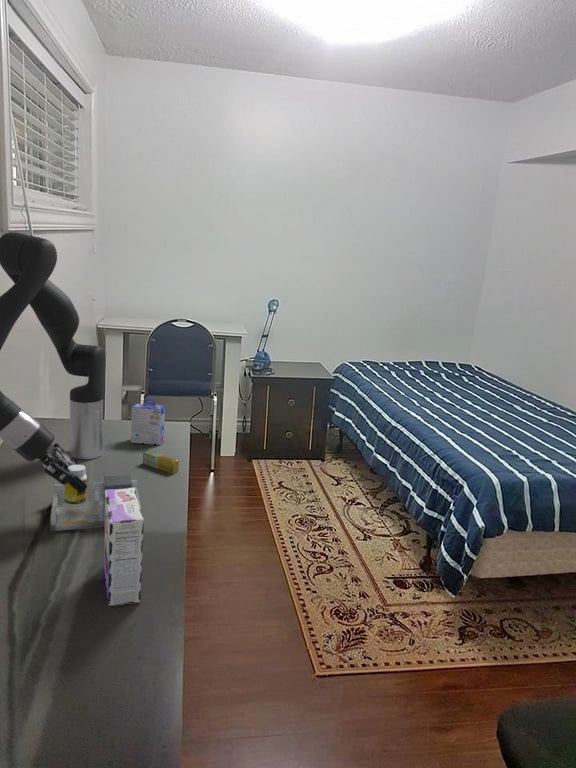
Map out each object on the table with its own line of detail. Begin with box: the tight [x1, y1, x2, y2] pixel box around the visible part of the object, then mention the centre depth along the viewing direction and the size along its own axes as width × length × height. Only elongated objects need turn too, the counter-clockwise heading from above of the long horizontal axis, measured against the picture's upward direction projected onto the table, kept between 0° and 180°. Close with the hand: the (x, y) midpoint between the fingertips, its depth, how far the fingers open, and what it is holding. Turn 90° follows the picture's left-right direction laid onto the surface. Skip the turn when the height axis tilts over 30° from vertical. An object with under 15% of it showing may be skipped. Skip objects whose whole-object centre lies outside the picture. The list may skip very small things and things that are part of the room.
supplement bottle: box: [64, 464, 88, 506], centre depth 123 cm, size 5×5×8 cm
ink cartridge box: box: [130, 397, 166, 446], centre depth 178 cm, size 10×6×14 cm, turn 89°
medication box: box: [142, 449, 180, 475], centre depth 158 cm, size 12×3×4 cm, turn 59°
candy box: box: [103, 487, 145, 607], centre depth 100 cm, size 14×6×16 cm, turn 21°
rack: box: [50, 474, 142, 532], centre depth 127 cm, size 14×19×8 cm
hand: (84, 484), depth 124 cm, fingers closed on supplement bottle, 4 cm apart
